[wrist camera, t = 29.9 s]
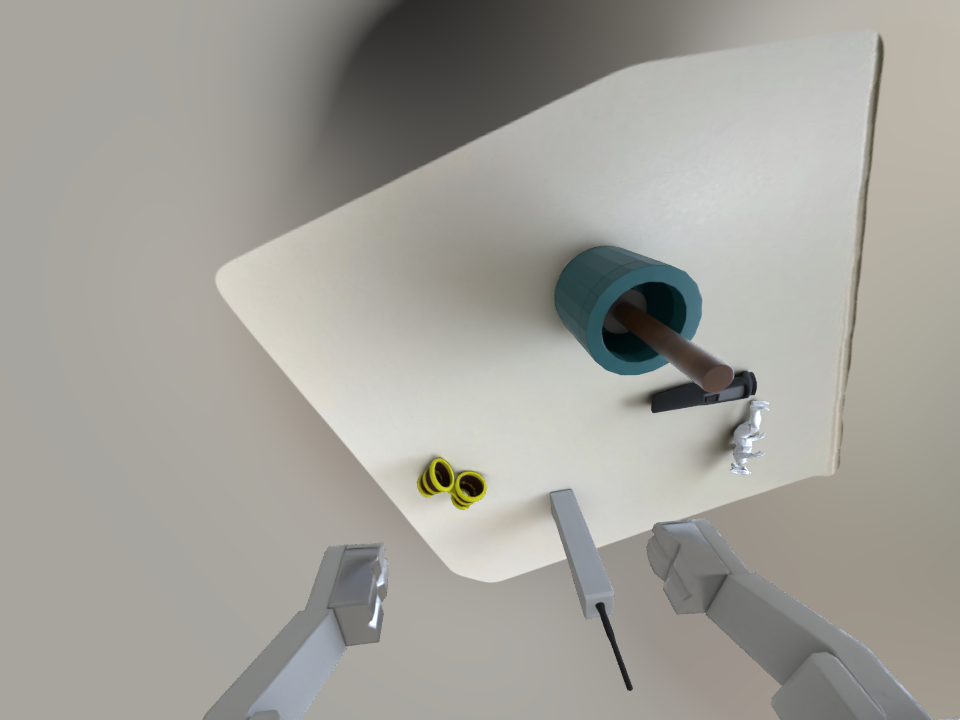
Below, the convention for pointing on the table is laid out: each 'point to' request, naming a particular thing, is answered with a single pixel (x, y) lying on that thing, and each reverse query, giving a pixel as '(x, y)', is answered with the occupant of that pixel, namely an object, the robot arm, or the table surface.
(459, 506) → the opera glasses
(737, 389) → the electric trimmer
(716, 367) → the brush
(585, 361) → the table surface
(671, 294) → the cup
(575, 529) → the vintage mobile phone
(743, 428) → the soldier figure
